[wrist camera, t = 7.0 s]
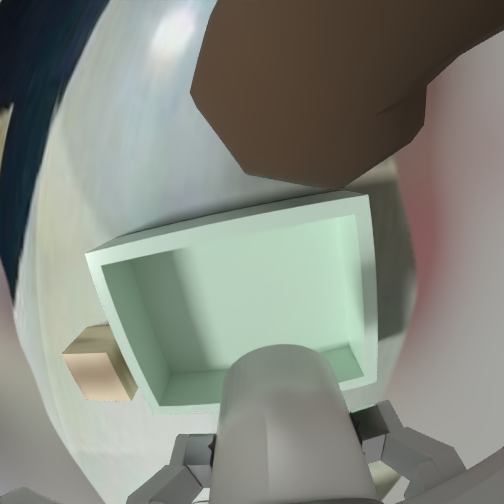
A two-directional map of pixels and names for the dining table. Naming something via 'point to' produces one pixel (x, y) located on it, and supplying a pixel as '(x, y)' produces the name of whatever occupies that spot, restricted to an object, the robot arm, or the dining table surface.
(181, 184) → the dining table surface
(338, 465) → the white jar
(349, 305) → the tote
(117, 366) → the beech cube
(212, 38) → the beer bottle
